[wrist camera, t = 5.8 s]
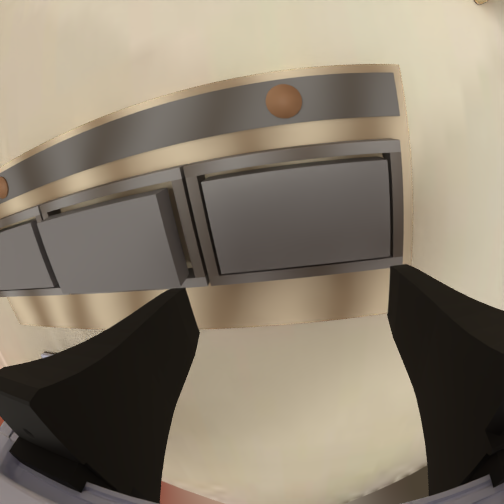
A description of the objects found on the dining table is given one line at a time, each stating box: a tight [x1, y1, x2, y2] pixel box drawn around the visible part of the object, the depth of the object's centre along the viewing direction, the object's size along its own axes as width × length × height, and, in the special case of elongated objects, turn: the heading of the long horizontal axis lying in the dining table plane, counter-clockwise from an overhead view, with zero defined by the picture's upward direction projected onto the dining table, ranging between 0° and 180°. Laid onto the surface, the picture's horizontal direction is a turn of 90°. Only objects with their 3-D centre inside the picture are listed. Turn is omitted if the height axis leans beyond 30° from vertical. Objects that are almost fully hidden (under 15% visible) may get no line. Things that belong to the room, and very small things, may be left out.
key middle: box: [37, 188, 189, 294], centre depth 16 cm, size 9×5×2 cm, turn 100°
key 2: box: [0, 218, 58, 290], centre depth 19 cm, size 9×5×2 cm, turn 100°
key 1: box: [201, 156, 390, 274], centre depth 15 cm, size 9×5×2 cm, turn 100°
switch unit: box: [0, 64, 413, 329], centre depth 18 cm, size 35×15×3 cm, turn 100°
